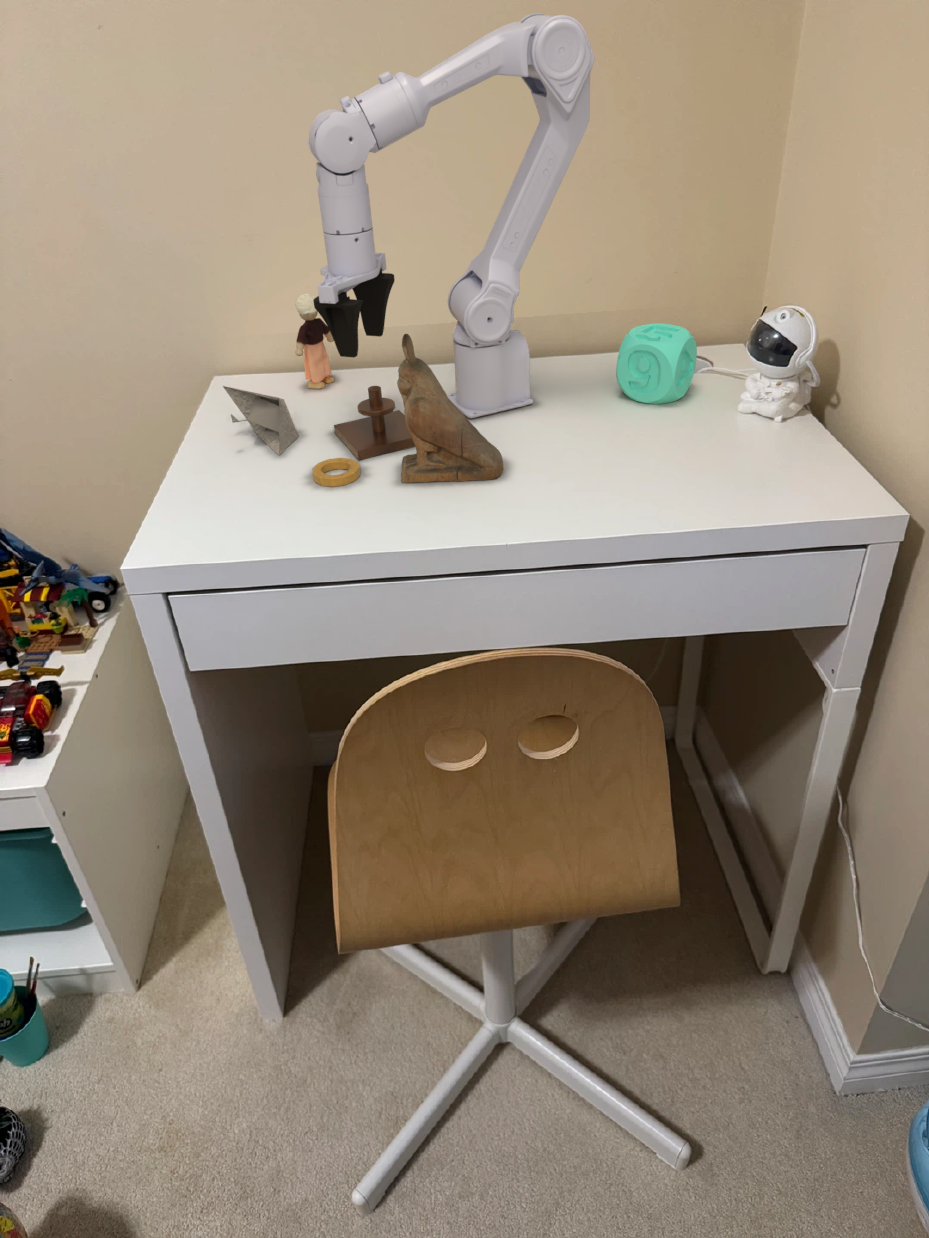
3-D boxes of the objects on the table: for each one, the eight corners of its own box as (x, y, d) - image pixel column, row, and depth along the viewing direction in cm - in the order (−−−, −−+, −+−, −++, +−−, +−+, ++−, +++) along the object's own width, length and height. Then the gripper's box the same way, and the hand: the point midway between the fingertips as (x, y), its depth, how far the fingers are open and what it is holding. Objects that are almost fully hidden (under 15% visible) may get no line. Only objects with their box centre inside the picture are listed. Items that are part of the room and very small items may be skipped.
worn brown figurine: (405, 502, 104) (353, 355, 94) (410, 480, 108) (361, 336, 98) (504, 481, 102) (462, 328, 91) (505, 459, 106) (465, 310, 96)
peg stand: (399, 418, 118) (395, 369, 114) (427, 443, 111) (422, 392, 107) (334, 433, 115) (327, 384, 111) (358, 460, 108) (351, 408, 104)
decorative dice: (694, 387, 121) (700, 327, 116) (671, 408, 116) (676, 347, 111) (638, 378, 125) (642, 320, 120) (614, 398, 119) (617, 338, 115)
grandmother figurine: (319, 373, 132) (306, 285, 125) (342, 375, 131) (330, 286, 124) (294, 393, 127) (278, 302, 119) (318, 395, 125) (304, 303, 118)
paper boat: (326, 429, 113) (273, 437, 106) (304, 465, 117) (252, 476, 110) (268, 363, 115) (213, 367, 108) (248, 400, 119) (194, 407, 112)
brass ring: (351, 461, 108) (350, 453, 107) (367, 479, 104) (366, 471, 103) (307, 472, 106) (305, 464, 106) (321, 491, 102) (320, 483, 101)
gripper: (344, 214, 110) (357, 325, 118) (287, 244, 100) (306, 363, 107) (397, 215, 108) (407, 328, 116) (344, 246, 97) (359, 368, 105)
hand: (361, 345), depth 112 cm, fingers open, 7 cm apart
